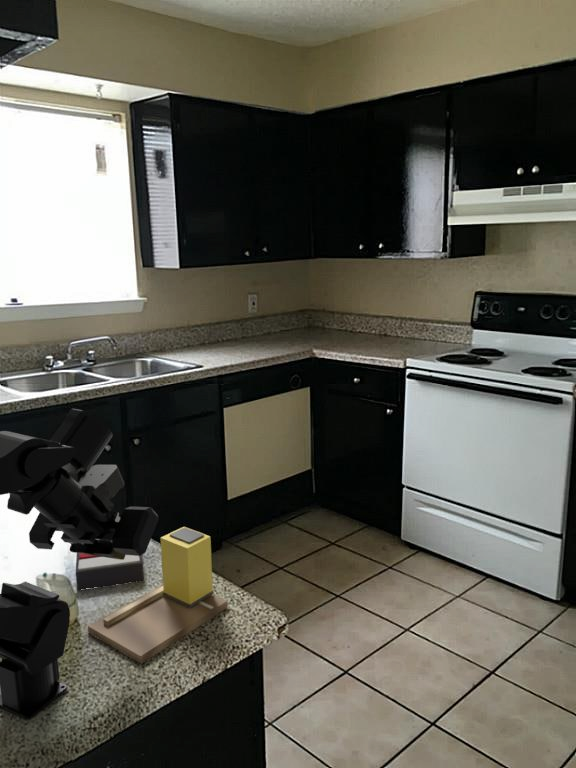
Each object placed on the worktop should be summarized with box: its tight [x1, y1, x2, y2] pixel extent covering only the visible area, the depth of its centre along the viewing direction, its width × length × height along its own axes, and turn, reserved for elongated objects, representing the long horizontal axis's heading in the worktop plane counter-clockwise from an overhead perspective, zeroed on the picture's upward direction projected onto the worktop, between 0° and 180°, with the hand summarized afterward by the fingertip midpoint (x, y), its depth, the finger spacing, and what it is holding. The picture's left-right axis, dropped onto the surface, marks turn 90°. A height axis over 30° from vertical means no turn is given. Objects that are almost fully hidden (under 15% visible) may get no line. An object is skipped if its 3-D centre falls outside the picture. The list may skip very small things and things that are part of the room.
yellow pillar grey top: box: [160, 526, 215, 608], centre depth 105 cm, size 5×6×10 cm
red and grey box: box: [75, 553, 145, 591], centre depth 118 cm, size 11×4×15 cm
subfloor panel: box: [87, 584, 229, 665], centre depth 101 cm, size 18×12×2 cm
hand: (123, 556), depth 96 cm, fingers closed
